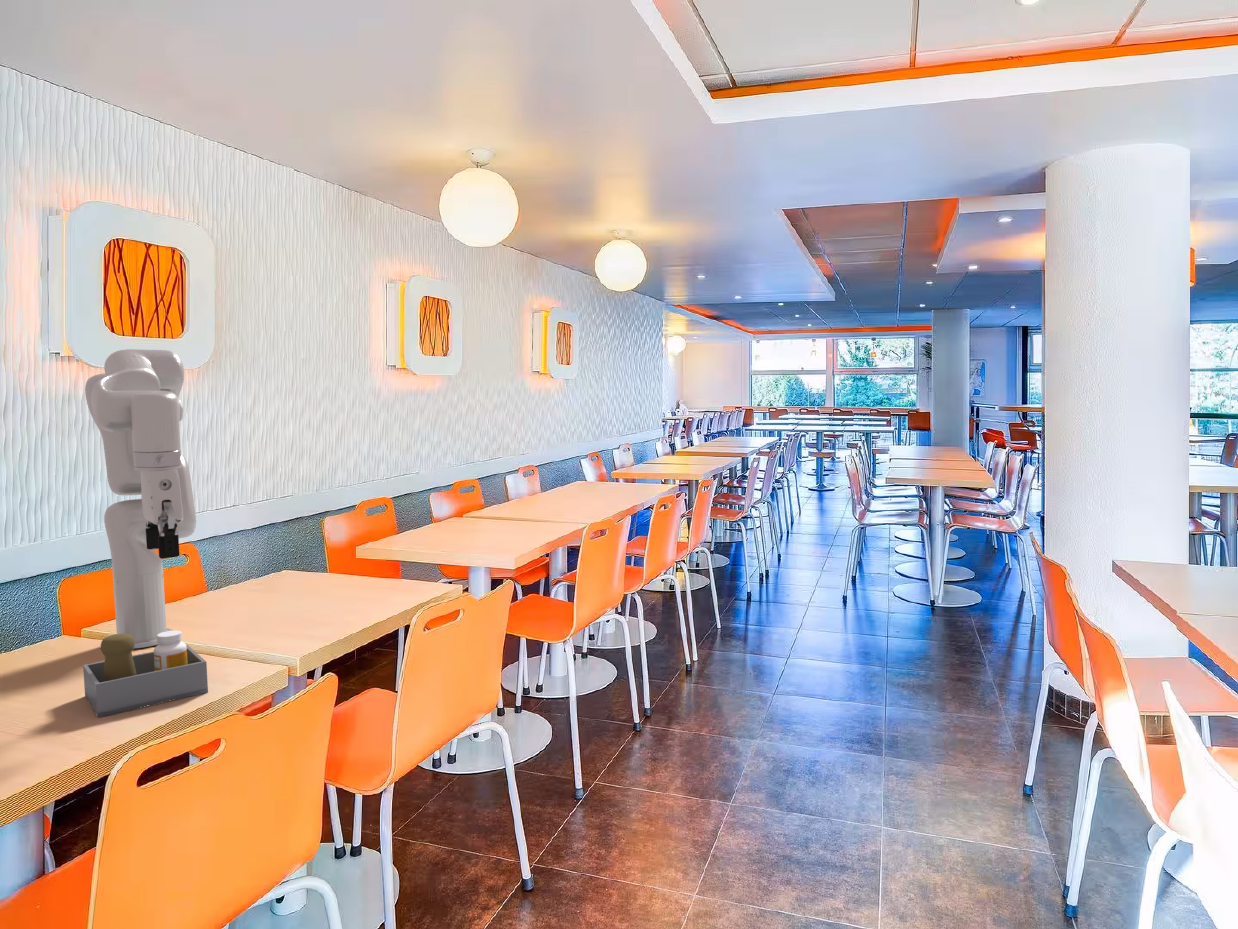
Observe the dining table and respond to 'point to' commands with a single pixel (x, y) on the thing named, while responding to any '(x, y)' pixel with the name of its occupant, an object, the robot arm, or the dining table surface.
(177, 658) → the supplement bottle
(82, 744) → the dining table surface
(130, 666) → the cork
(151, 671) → the tote
